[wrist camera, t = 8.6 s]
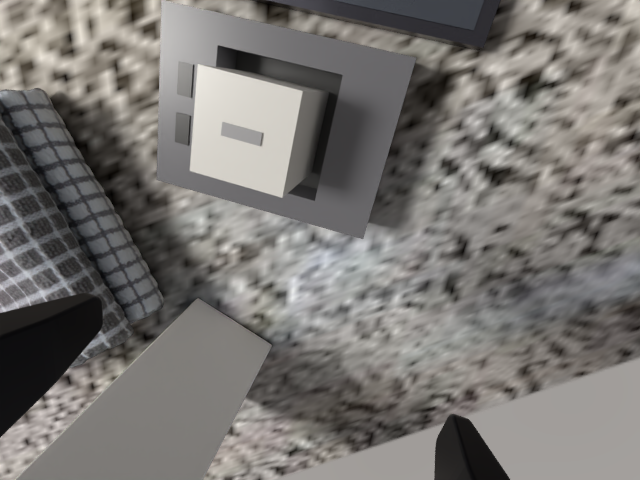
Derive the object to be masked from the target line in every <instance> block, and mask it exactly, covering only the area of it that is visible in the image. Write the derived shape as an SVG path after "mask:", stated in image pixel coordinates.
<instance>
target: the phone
mask: <svg viewBox="0 0 640 480" xmlns="http://www.w3.org/2000/svg"><path fill="white" fill-rule="evenodd" d="M252 1H257V2H262V3H266V4H271V5H275V6H280V7H284V8H289V9H293V10H298V11H302V12H307V13H311V14H316V15H320V16H325V17H329V18H334V19H338V20H343V21H348V22H352V23H357V24H361V25H366V26H370V27H375V28H379V29H384V30H388V31H393V32H397V33H402V34H406V35H411V36H415V37H420V38H424V39H429V40H434V41H438V42H443V43H447V44H452V45H456V46H461V47H465V48H470V49H474V50H480V49H482V48H483V47H484V45H485V42H486V39H487V36H488V33H489V31H490V28H491V25H492V22H493V20H494V17H495V14H496V11H497V8H498V6H499V3H500V0H252Z"/></svg>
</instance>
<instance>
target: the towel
mask: <svg viewBox="0 0 640 480" xmlns="http://www.w3.org/2000/svg"><path fill="white" fill-rule="evenodd" d="M157 286H158V283H157V282H156V280H155V279H154V277H153V276H152V275H151V274H150V270H149V268H148V265H147V263H146V262H145V261H144V260H143V259H142V257H141V254H140V251H139V250H138V248H137V247H136V246H135V245H134V243H133V240H132V238H131V236H130V234H129V232H128V231H127V230H126V229H125V228H124V226H123V221H122V219H121V218H120V216H119V215H118V214H117V213H116V212H115V210H114V206H113V204H112V203H111V201H110V199H109V198H108V197H107V196H106V195H105V191H104V189H103V188H102V186H101V185H100V183H99V182H98V181H97V180H96V179H95V177H94V174H93V172H92V171H91V169H90V167H89V166H88V165H86V164H85V162H84V158H83V156H82V155H81V153H80V151H79V149H78V148H77V147H76V146H75V143H74V140H73V138H72V137H71V135H70V133H69V131H68V130H67V129H66V125H65V123H64V122H63V120H62V118H61V116H60V115H59V114H58V113H57V111H56V110H55V109H54V107H53V104H52V102H51V100H50V98H49V96H48V94H47V93H46V92H45V91H43V90H41V89H39V88H35V89H32V90H28V91H26V90H23V91H16V90H2V91H0V313H2V312H6V311H10V310H14V309H18V308H22V307H27V306H31V305H35V304H39V303H43V302H47V301H51V300H55V299H60V298H64V297H68V296H72V295H76V294H80V293H89V294H92V295H95V296H98V297H100V298H101V300H102V305H103V326H102V328H101V330H100V332H99V333H98V334H97V335H96V336H95V338H94V339H93V340H92V341H91V342H90V343H89V345H88V346H87V347H86V348H85V349H84V351H83V352H82V353H81V354H80V355H79V356H78V358H77V359H76V360H75V361H74V362H73V363H72V365H71V366H70V368H73V367H75V366H78V365H81V364H83V363H84V362H85V361H86V360H87V359H88V358H92V357H93V356H96V355H97V354H99V353H101V352H103V351H104V350H106V349H107V348H113V347H115V346H117V345H120V344H122V343H124V342H125V341H126V339H127V338H129V337H130V336H132V334H133V333H134V330H133V328H132V326H131V323H133V322H135V321H137V320H140V319H143V318H146V317H148V316H149V315H151V314H152V313H153V312H155V311H157V310H159V309H161V308H162V307H163V304H164V298H163V296H162V294H161V292H160V291H159V289H158V287H157Z"/></svg>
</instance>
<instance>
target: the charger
mask: <svg viewBox="0 0 640 480" xmlns="http://www.w3.org/2000/svg"><path fill="white" fill-rule="evenodd" d="M328 95H329V92H327V91H323V90H319V89H316V88H312V87H308V86H304V85H300V84H296V83H292V82H288V81H284V80H280V79H276V78H273V77H269V76H265V75H261V74H257V73H253V72H248V71H241V70H234V69H228V68H221V67H214V66H208V65H201V64H198V67H197V80H196V93H195V107H194V120H193V133H192V146H191V160H190V171H192V172H195V173H199V174H202V175H206V176H209V177H213V178H216V179H219V180H223V181H226V182H230V183H233V184H237V185H240V186H243V187H247V188H250V189H254V190H257V191H261V192H264V193H267V194H271V195H274V196H278V197H281V198H283V197H284V196H285V195H286V194H287V193H288V192H290V191H291V190H292V189H293V188H294V187H295V186H297V185H298V184H299V183H300V182H301V181H302V180H304V179H305V178H306V177H307V176H308V175H309V174H311V172H312V168H313V163H314V159H315V154H316V150H317V145H318V141H319V136H320V131H321V127H322V122H323V118H324V113H325V109H326V104H327V100H328Z"/></svg>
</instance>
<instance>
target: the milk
mask: <svg viewBox="0 0 640 480" xmlns="http://www.w3.org/2000/svg"><path fill="white" fill-rule="evenodd" d="M271 347H272V345H271V344H270V343H268V342H267V341H265V340H264V339H262V338H260V337H259V336H257V335H256V334H254V333H253V332H251V331H249V330H248V329H246V328H245V327H243V326H242V325H240V324H238V323H237V322H235V321H234V320H232V319H231V318H229V317H227V316H226V315H224V314H223V313H221V312H220V311H218V310H216V309H215V308H213V307H212V306H210V305H208V304H207V303H205V302H204V301H202V300H201V299H199V298H197V299H196V300H195V301H194V302H193V303H192V304H191V305H190V306H189V307H188V308H187V309H186V310H185V311H184V312H183V313H182V314H181V315H180V316H179V317H178V318H177V319H176V320H175V321H174V322H173V323H172V324H171V325H170V326H169V327H168V328H167V329H166V330H165V331H164V332H163V333H162V334H161V335H160V336H159V337H158V338H157V339H156V340H155V341H154V342H152V343H151V344H150V345H149V346H148V347H147V348H146V349H145V350H144V351H143V352H142V353H141V354H140V355H139V356H138V357H137V358H136V359H135V360H134V361H133V362H132V363H131V364H130V365H129V366H128V367H127V368H126V369H125V370H124V371H123V372H122V373H121V374H120V375H119V376H118V377H117V378H116V379H115V380H114V381H113V382H112V383H111V384H110V385H109V386H108V387H107V388H106V389H105V390H104V391H103V392H102V393H101V394H100V395H99V396H98V397H97V398H96V399H95V400H94V401H93V402H92V403H91V404H90V405H89V406H88V407H87V408H86V409H85V410H84V411H83V412H82V413H81V414H80V415H79V416H78V417H77V418H76V419H75V420H74V421H73V422H72V423H71V424H70V425H69V426H68V427H67V428H66V429H65V430H64V431H63V432H62V433H61V434H60V435H59V436H58V437H57V438H56V439H55V440H54V441H53V442H52V443H51V444H50V445H49V446H48V447H47V448H46V449H45V450H44V451H43V452H42V453H41V454H40V455H39V456H38V457H37V458H36V459H35V460H34V461H33V462H32V463H31V464H30V465H29V466H28V467H27V468H26V469H25V470H24V471H23V472H22V473H21V474H20V475H19V476H18V477H17V478H16V479H14V480H203V478H204V476H205V475H206V473H207V471H208V469H209V467H210V465H211V463H212V461H213V459H214V457H215V455H216V453H217V451H218V449H219V447H220V446H221V444H222V442H223V440H224V438H225V436H226V434H227V432H228V430H229V428H230V426H231V424H232V422H233V420H234V419H235V417H236V415H237V413H238V411H239V409H240V407H241V405H242V403H243V401H244V399H245V397H246V395H247V393H248V392H249V390H250V388H251V386H252V384H253V382H254V380H255V378H256V376H257V374H258V372H259V370H260V368H261V366H262V364H263V363H264V361H265V359H266V357H267V355H268V353H269V351H270V349H271Z"/></svg>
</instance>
